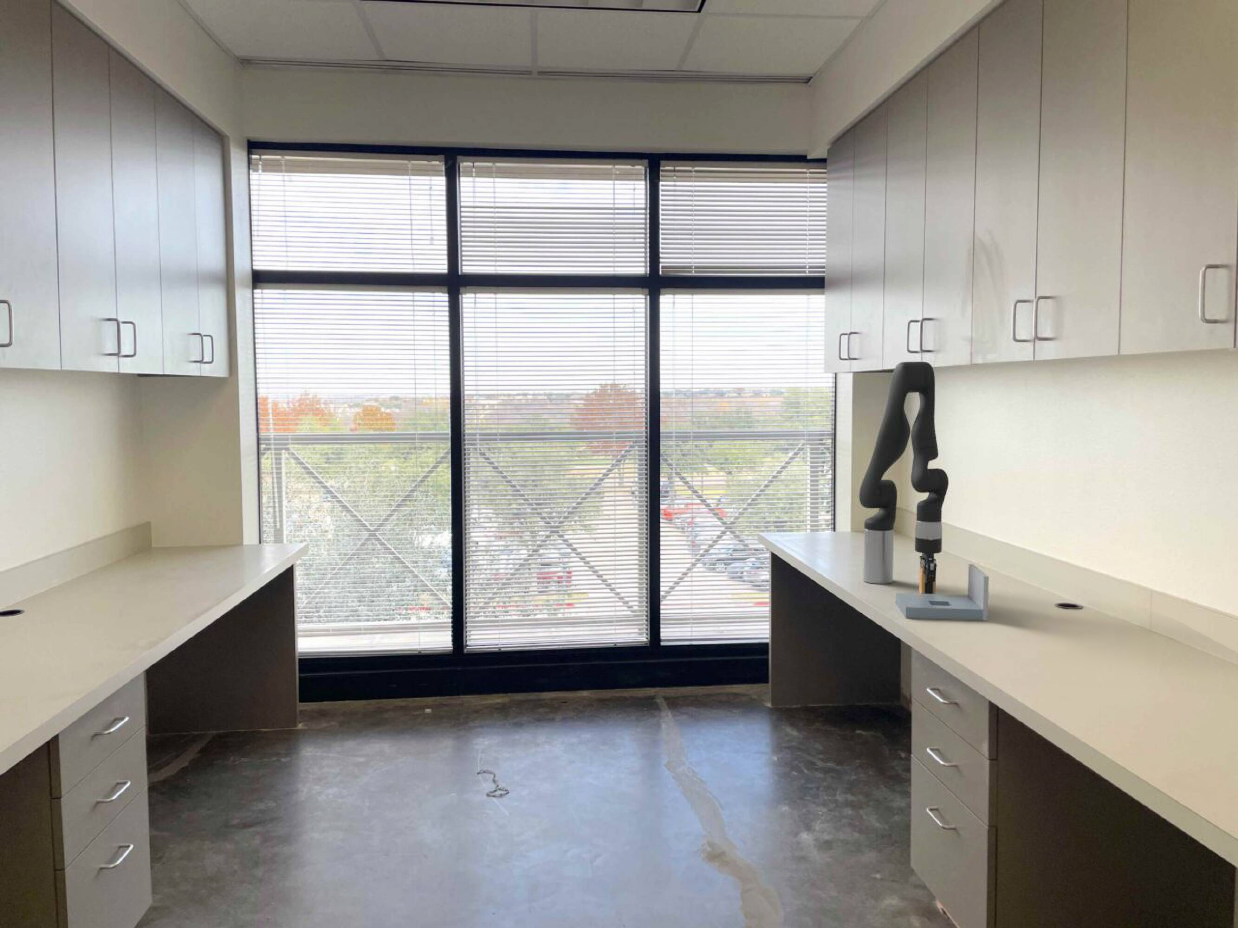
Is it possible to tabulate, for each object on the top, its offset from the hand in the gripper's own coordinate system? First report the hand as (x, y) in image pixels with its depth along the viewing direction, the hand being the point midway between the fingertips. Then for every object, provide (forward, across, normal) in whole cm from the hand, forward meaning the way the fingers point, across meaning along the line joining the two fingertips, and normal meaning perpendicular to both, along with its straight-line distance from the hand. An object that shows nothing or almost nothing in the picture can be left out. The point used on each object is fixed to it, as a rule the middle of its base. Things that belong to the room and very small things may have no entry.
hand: (927, 592), depth 272 cm
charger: (+2, 0, 0) cm, 2 cm away
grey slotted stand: (+2, +16, 0) cm, 16 cm away
